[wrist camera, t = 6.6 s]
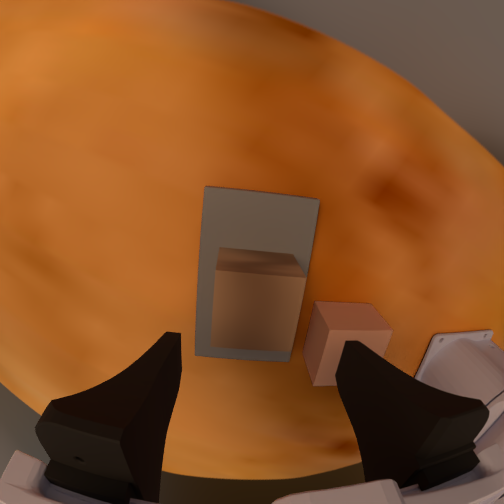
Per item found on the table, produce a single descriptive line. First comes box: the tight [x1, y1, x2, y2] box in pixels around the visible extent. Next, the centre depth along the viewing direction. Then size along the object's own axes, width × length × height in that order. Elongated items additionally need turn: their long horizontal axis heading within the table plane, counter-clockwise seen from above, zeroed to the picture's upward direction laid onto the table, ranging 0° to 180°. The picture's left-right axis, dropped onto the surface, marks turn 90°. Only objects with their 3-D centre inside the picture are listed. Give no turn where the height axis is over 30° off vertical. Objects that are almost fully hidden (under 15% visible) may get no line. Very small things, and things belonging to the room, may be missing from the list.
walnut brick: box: [210, 247, 307, 352], centre depth 18 cm, size 5×5×4 cm
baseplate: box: [195, 186, 320, 362], centre depth 20 cm, size 7×12×1 cm, turn 173°
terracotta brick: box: [302, 301, 393, 386], centre depth 20 cm, size 5×5×4 cm
